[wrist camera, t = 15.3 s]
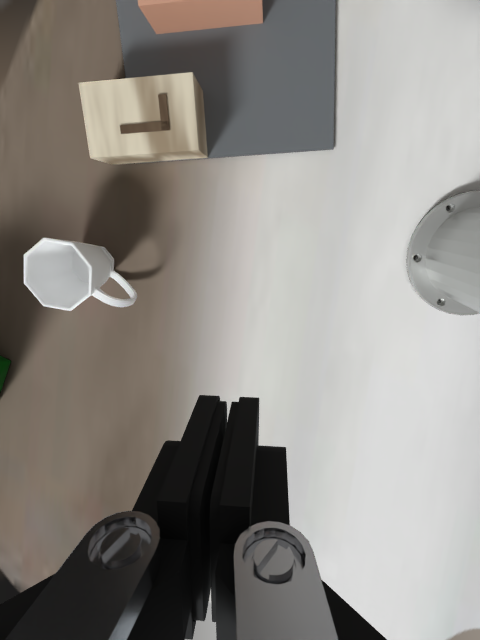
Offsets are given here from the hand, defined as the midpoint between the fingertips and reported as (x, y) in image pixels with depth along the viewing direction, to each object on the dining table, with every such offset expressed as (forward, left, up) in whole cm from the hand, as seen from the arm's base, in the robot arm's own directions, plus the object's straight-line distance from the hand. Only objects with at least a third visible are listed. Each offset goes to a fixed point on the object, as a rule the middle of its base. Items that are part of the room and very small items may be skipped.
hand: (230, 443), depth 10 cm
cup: (+17, -1, -32) cm, 36 cm away
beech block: (+5, -15, -29) cm, 33 cm away
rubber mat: (+2, -21, -32) cm, 38 cm away
